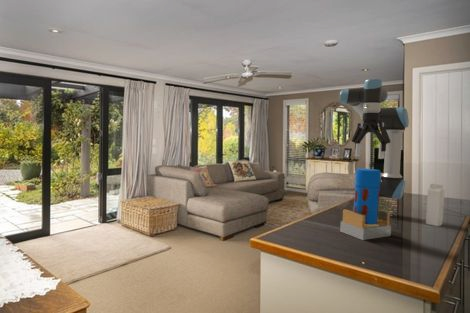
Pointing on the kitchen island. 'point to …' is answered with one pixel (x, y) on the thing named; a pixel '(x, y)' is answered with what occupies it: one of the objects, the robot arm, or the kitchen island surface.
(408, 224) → the kitchen island surface
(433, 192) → the milk
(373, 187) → the thermos
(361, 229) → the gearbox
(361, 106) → the robot arm
